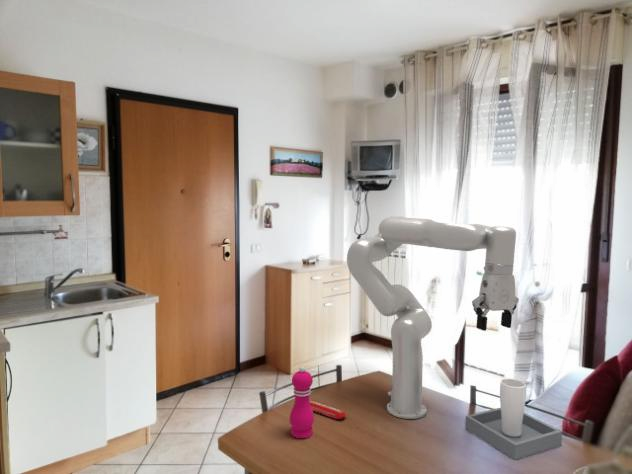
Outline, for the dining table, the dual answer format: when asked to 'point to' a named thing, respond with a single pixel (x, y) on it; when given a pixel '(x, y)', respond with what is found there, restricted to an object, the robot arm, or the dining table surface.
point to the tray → (530, 442)
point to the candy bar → (327, 410)
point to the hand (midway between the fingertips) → (493, 328)
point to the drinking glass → (512, 406)
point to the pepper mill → (302, 405)
